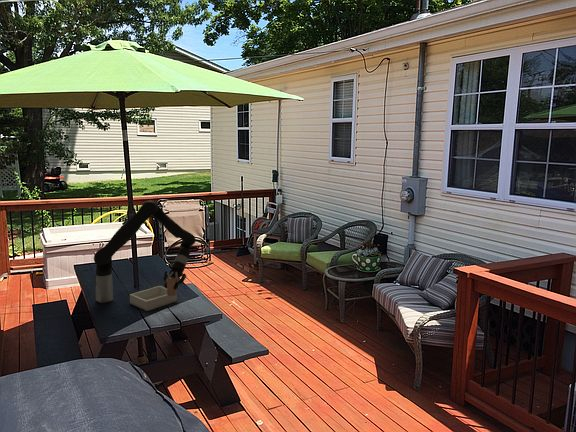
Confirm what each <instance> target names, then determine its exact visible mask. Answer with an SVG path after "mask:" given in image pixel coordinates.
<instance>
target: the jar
mask: <svg viewBox="0 0 576 432" xmlns="http://www.w3.org/2000/svg"><path fill="white" fill-rule="evenodd" d="M175 283H176V277H168V278H167V295H168V296H174V295H176V292H177V289H176V290H174V285H175Z"/></svg>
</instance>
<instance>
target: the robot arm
mask: <svg viewBox="0 0 576 432" xmlns="http://www.w3.org/2000/svg"><path fill="white" fill-rule="evenodd" d="M151 217H153V218H154V219H155V220H157V221H158V222H159V223H160V224H161V225H162V226H163V228H165V229H166V231H167V232H169V234H171V235H172V236H173V237H175V238H176V239H181V242H180V246H179V249H178V252H177V254H176V256H175V259H174V261H173V262H172V266H171V268H170V269H171V270H170V271H167V270H165V271H164V276H163V281H164V282H165V283H164V285H163V287H165V288H166V289H167V278H168V277H176V283H175V285H174V290H176V291H177V289H178V287H179V285H180V284H181V285H182V284H183V283H184V281H185V280H186V279H187V275H186V273H184V271H185V268H186V266H187V264H188V260H189V257H190V254H191V251H190V250H191V247H192V246H194V244H195V243H196V241H197V240H196V237H195V235H193V234H192V233H191V232H190V231H188V230H186V229H183V228H182V226H180V225H179V224H178V223H176V221H174V220H173V219H172V218H171V217H170V216H168V214H166V213H165V212H164V210H163V209H162V208H161V207H160V205H158V203H157V202H156V201H154V200H146V201H145V202H143V204H142V205H141V206H140V208H139V209H138V210H137V211H136V212H135V214H134V215H133V216H131V217H130V218H129V219H128V220H127V221H125V223H124V224H122V225H121V226H120V227H119V229H118V230H116V231H115V233H114V234H113V235H112V237H111V238H110V240H108V242H107V243H106V244H105V245H104V246H103V247H101V248H98V250H97V251H96V252H95V253H94V256H93V261H94V263H95V264H96V266H95V267H96V268H95V278H96V279H95V280H96V285H95V286H94V287H95V300H96V301H97V302H98V303H100V304H103V303H104V304H105V303H110V302H112V301H114V290H113V287H114V286H113V273H112V272H113V260H112V259H113V256H114V255H115V254H116V253H117V252H118V251H119V250H120V249H121V248H122V247H124V246H125V245H126V244H127V243H128V242H129V241H130V240H131V239H132V238H133V237H134V236H135V235H136V234H137V232H138V231H139V230H140V229H141V227H142V225H143V224H144V223H145V222H147V220H149V219H150V218H151Z"/></svg>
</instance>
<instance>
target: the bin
mask: <svg viewBox="0 0 576 432" xmlns="http://www.w3.org/2000/svg"><path fill="white" fill-rule="evenodd" d="M175 302H178V292H177V291H176V295H174V296H168V295H167V289H166V288H165V287H164V286H163V285H157V286H154V287H151V288H148V289H145V290H139V291H136V292H134V293H131V294H129V304H131V305H133V306H135V307H137V308H139V309H141V310H144V311H146V312H147V311H152V310H154V309H157V308H160V307H163V306H166V305H169V304H172V303H173V304H174V303H175Z"/></svg>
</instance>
